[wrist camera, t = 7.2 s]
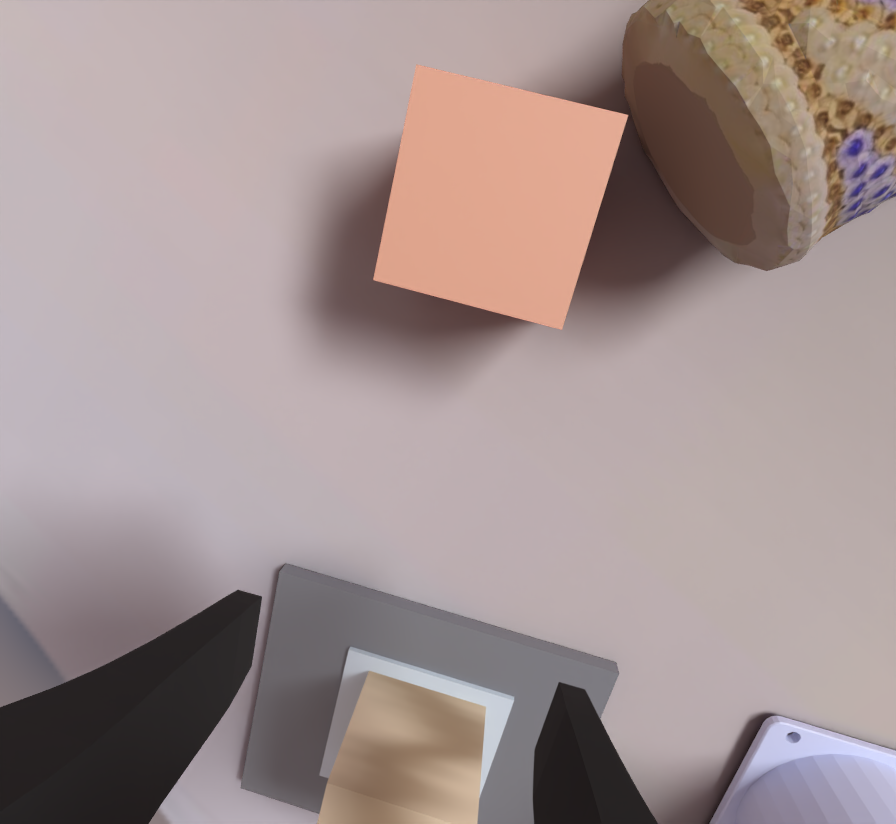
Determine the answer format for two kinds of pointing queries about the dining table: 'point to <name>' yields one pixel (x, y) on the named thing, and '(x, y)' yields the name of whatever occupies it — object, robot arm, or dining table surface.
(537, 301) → the terracotta block
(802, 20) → the decorative bottle
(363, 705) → the beech block
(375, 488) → the dining table surface
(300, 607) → the baseplate
